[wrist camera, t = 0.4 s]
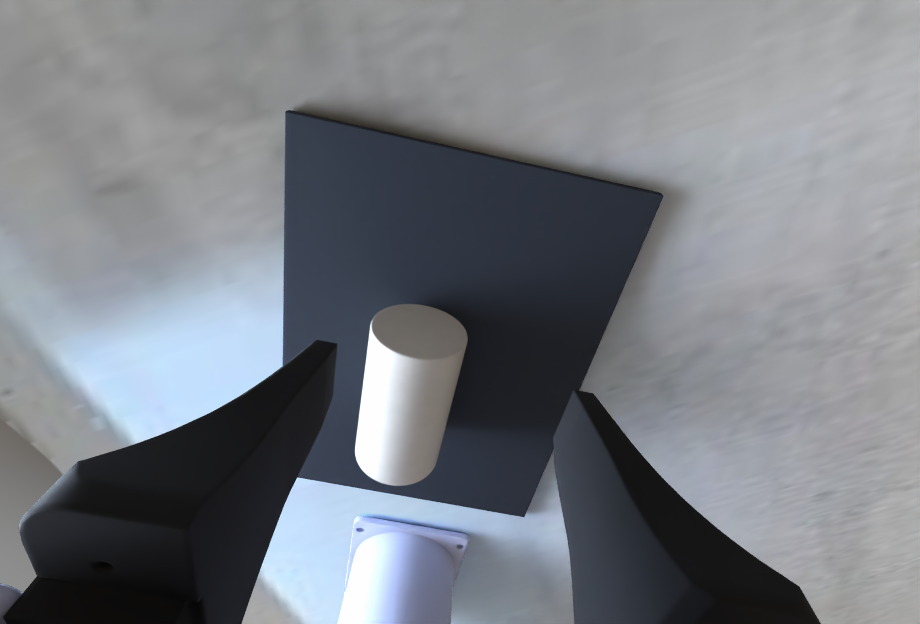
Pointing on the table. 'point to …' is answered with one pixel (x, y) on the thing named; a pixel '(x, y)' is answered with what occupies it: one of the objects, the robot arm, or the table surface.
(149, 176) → the table surface
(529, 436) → the desk mat
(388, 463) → the paper roll
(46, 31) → the table surface
